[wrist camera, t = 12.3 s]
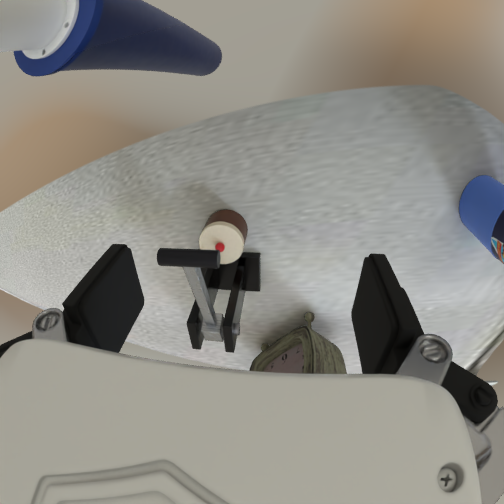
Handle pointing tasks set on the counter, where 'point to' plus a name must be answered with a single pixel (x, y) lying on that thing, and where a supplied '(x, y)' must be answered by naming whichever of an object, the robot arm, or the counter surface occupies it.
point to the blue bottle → (485, 213)
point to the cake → (224, 235)
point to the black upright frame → (238, 281)
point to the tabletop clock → (300, 354)
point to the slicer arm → (197, 283)
